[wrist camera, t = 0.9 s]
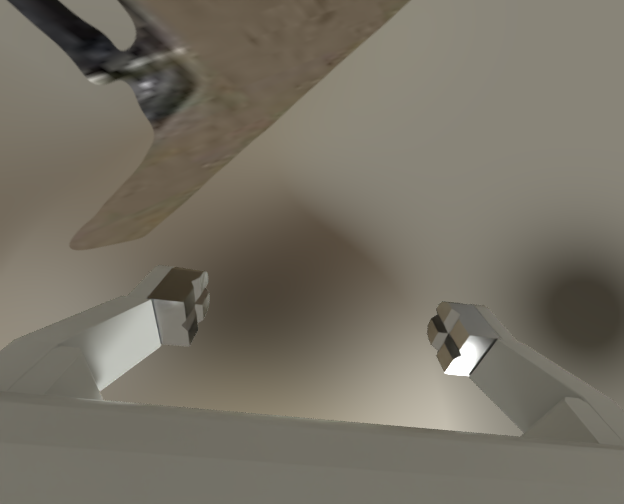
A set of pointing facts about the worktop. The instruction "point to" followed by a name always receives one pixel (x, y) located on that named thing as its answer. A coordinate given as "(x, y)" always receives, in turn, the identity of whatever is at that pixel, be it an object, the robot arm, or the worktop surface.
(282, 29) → the worktop surface
